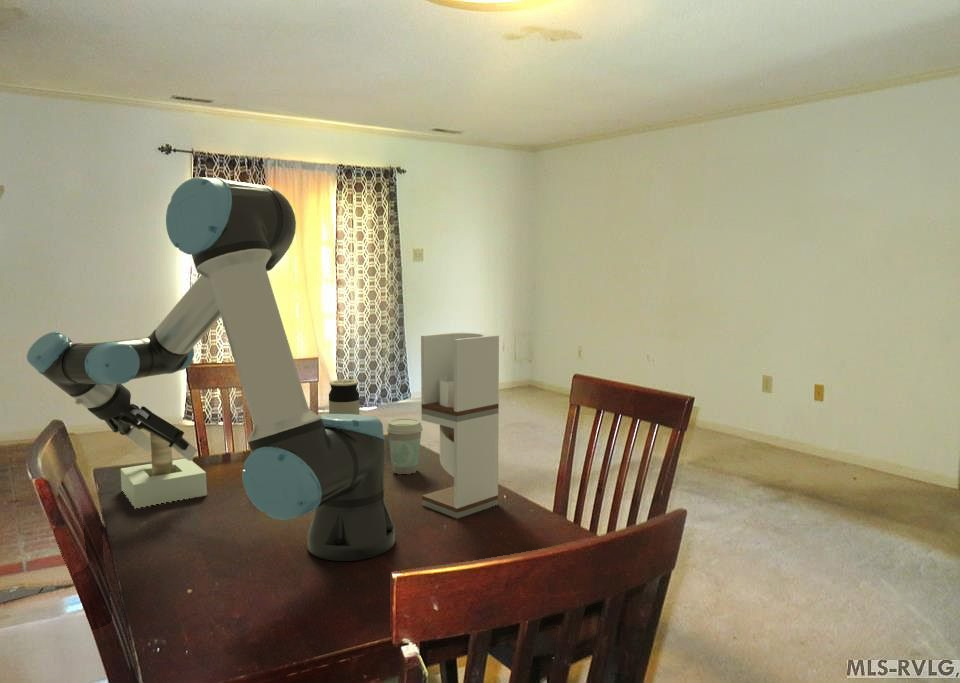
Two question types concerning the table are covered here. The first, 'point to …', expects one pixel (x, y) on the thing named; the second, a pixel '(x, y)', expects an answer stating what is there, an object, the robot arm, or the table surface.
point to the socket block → (163, 483)
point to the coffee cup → (404, 444)
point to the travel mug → (344, 397)
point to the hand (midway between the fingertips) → (171, 451)
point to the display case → (463, 417)
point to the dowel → (160, 456)
